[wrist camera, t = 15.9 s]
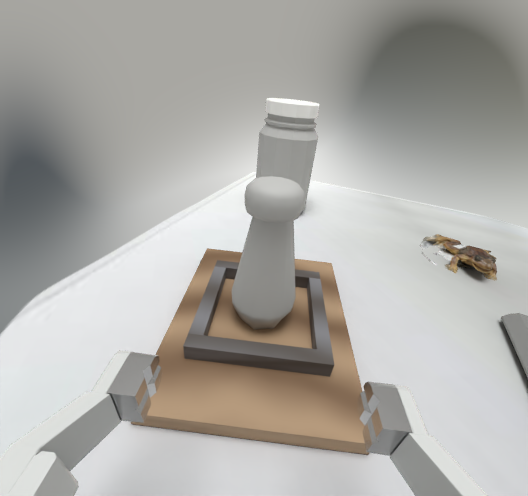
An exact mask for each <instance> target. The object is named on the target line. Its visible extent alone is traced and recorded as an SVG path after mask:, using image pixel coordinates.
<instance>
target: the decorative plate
mask: <svg viewBox="0 0 528 496" xmlns="http://www.w3.org/2000/svg"><path fill="white" fill-rule="evenodd" d="M501 319H502V321H503V323H504V326H505V328H506V330H507V332H508V335H509V337H510V339H511V341H512V344H513V346H514V348H515V351H516V353H517V355H518V357H519V360H520V362H521V364H522V366H523V369H524V371H525V373H526V375H527V378H528V316H526V315H523V314H520V313H517V314H509V315H505V316H502V317H501Z"/></svg>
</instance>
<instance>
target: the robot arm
mask: <svg viewBox="0 0 528 496" xmlns="http://www.w3.org/2000/svg"><path fill="white" fill-rule="evenodd" d="M159 362H160V359H159V356H158V355H151V354H143V353H135V352H129V351H120V350H119V351H118V352H117V353H116V354H115V355H114V356H113V358H112V360H111V361H110V363H109V364H108V366H107V367H106V369H105V370H104V372H103V374H102V375H101V377H100V378H99V380H98V381H97V383H96V385H95V386H94V388H93V389H92V391H87V392H85V393H84V394H82V395H81V396H79V397H78V398H77V399H75V400H74V401H72V402H71V403H69V404H68V405H67V406H65V407H64V408H62V409H61V410H59V411H58V412H57V413H55V414H54V415H52V416H51V417H49V418H48V419H47V420H45V421H44V422H42V423H41V424H39V425H38V426H37V427H35V428H34V429H32V430H31V431H29V432H28V433H27V434H25V435H24V436H22V437H21V438H19V439H18V440H17V441H15V442H14V443H12V444H11V445H10V446H9V447H8V449H7V450H6V451H5V452H4V454H3V455H2V456H1V458H0V496H74V495H75V493H76V491H77V489H78V487H79V486H78V481H77V480H76V479H75V478H74V476H73V475H72V474H71V473H70V471H71V470H72V469H73V468H74V467H75V466H76V465H77V464H78V463H79V462H80V461H81V460H82V459H83V458H84V457H85V456H86V455H87V454H88V453H89V452H90V451H91V450H92V449H93V448H94V447H96V446H97V445H98V444H99V443H100V442H101V441H102V440H103V439H104V438H105V437H106V436H107V435H108V434H109V433H110V432H111V431H112V430H113V429H114V428H115V427H116V426H117V425H118V424H119V423H120V422H121V421H131V422H141V423H144V421H145V418H146V416H147V414H148V411H149V409H150V407H151V400H150V397H152V396H153V395H154V394H155V393H156V392H157V390H158V388H159V385H160V381H161V377H162V369H161V367H160V366H159V365H158V364H159ZM364 390H365V391H363V392H361V393H360V395H359V397H358V414H359V419H360V420H361V421H362V423H363V424H364V425H365V427H364V429H363V431H362V433H363V438H364V442H365V447H366V451H367V452H369V453H375V454H381V455H388V456H390V458H391V460H392V461H393V463H394V464H395V466H396V468H397V469H398V471H399V472H400V474H401V475H402V477H403V478H404V480H405V481H406V483H407V484H408V486H409V487H410V489H411V490H412V492H413V493H414V495H415V496H488V495H487V494H486V493H485V492H484V491H483V490H482V489H481V487H480V486H479V485H478V484H477V483H476V482H475V481H474V480H473V479H472V478H471V477H470V476H469V474H468V473H467V472H466V471H465V470H464V469H463V468H462V467H461V466H460V465H459V464H458V463H457V461H456V460H455V459H454V458H453V457H452V456H451V455H450V454H449V453H448V452H447V451H446V450H445V449H444V447H443V446H442V445H441V444H440V443H439V442H438V441H437V440H436V439H435V438H434V437H433V436H430V435H428V432H427V430H426V427H425V425H424V422H423V420H422V417H421V415H420V412H419V410H418V407H417V405H416V402H415V400H414V397H413V395H412V393H411V390H410V389H409V388H408V387H406V386H399V385H393V384H383V383H374V382H367V383H365V385H364ZM120 420H121V421H120Z"/></svg>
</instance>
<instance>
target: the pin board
mask: <svg viewBox="0 0 528 496" xmlns="http://www.w3.org/2000/svg"><path fill="white" fill-rule="evenodd" d="M241 256H242V253H241V252H233V251H224V250H216V249H207V250H206V252H205V254H204V256H203V258H202V260H201V262H200V264H199V266H198V268H197V270H196V273H195V275H194V277H193V279H192V281H191V283H190V285H189V287H188V289H187V291H186V293H185V295H184V297H183V299H182V301H181V303H180V305H179V308H178V310H177V312H176V314H175V316H174V318H173V320H172V322H171V324H170V326H169V328H168V330H167V332H166V334H165V336H164V338H163V341H162V343H161V345H160V347H159V349H158V351H157V353H156V355H158V356H159V359H160V362H159V364H158V365H159V366H160V367H161V369H162V377H161V381H160V385H159V388H158V390H157V392H156V393H155V394H154V395H153V396H152V397H150V400H151V407H150V409H149V411H148V414H147V416H146V418H145V421H144V423H141V422H131V424H135V425H143V426H151V427H158V428H166V429H174V430H181V431H189V432H197V433H205V434H212V435H220V436H228V437H235V438H243V439H251V440H258V441H266V442H274V443H281V444H289V445H297V446H305V447H312V448H320V449H328V450H335V451H343V452H351V453H358V454H366V455H368V454H369V452H367V451H366V447H365V442H364V438H363V433H362V431H363V429H364V427H365V425H364V424H363V423H362V421H361V420H360V419H359V414H358V397H359V395H360V393H361V392H362V388H361V384H360V380H359V375H358V371H357V367H356V363H355V359H354V355H353V350H352V346H351V342H350V338H349V334H348V330H347V325H346V321H345V317H344V313H343V309H342V305H341V300H340V296H339V292H338V288H337V284H336V280H335V275H334V271H333V267H332V263H326V262H317V261H309V260H300V259H295V296H296V298H295V301H294V304H293V307H292V310H291V312H290V313H288V314H287V315H286V316H285V317H284V318H283V319H281V320H280V322H279V323H278V324H277V325H276V326H275V328H272V329H253V328H251V327H250V326H249V325H248V324H247V323H245V322H244V321H243V320H242V319H241V318H240V317H239V315H238V313H237V311H236V310H235V308H234V306H233V303H232V287H233V283H234V280H235V277H236V273H237V270H238V266H239V263H240V259H241Z"/></svg>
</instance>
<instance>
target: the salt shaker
mask: <svg viewBox="0 0 528 496" xmlns="http://www.w3.org/2000/svg"><path fill="white" fill-rule="evenodd" d="M304 202H305V192H304V191H303V189H302V188H301V187H300V185H299V184H298V183H296V182H294V181H292V180H290V179H286V178H282V177H274V176H268V177H259V178H255V179H254V180H253V181H252V182H250V183H249V184H248V185H247V187H246V191H245V206H246V210H247V213H249V214H250V215H251V216H253V217H252V221H251V224H250V228H249V231H248V235H247V238H246V242H245V245H244V249H243V252H242V256H241V259H240V263H239V266H238V270H237V273H236V277H235V280H234V283H233V287H232V303H233V306H234V308H235V310H236V311H237V313H238V315H239V317H240V318H241V319H242V320H243V321H244V322H245V323H247V324H248V325H249V326H250V327H251V328H253V329H272V328H275V326H276V325H277V324H278V323H279V322H280V320H281V319H283V318H284V317H285V316H286V315H287V314H288V313H290V312H291V310H292V307H293V304H294V301H295V298H296V296H295V259H294V222H293V220H295V219H297V218H298V217H299V216H300V214H301V212H302V210H303V206H304Z"/></svg>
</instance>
